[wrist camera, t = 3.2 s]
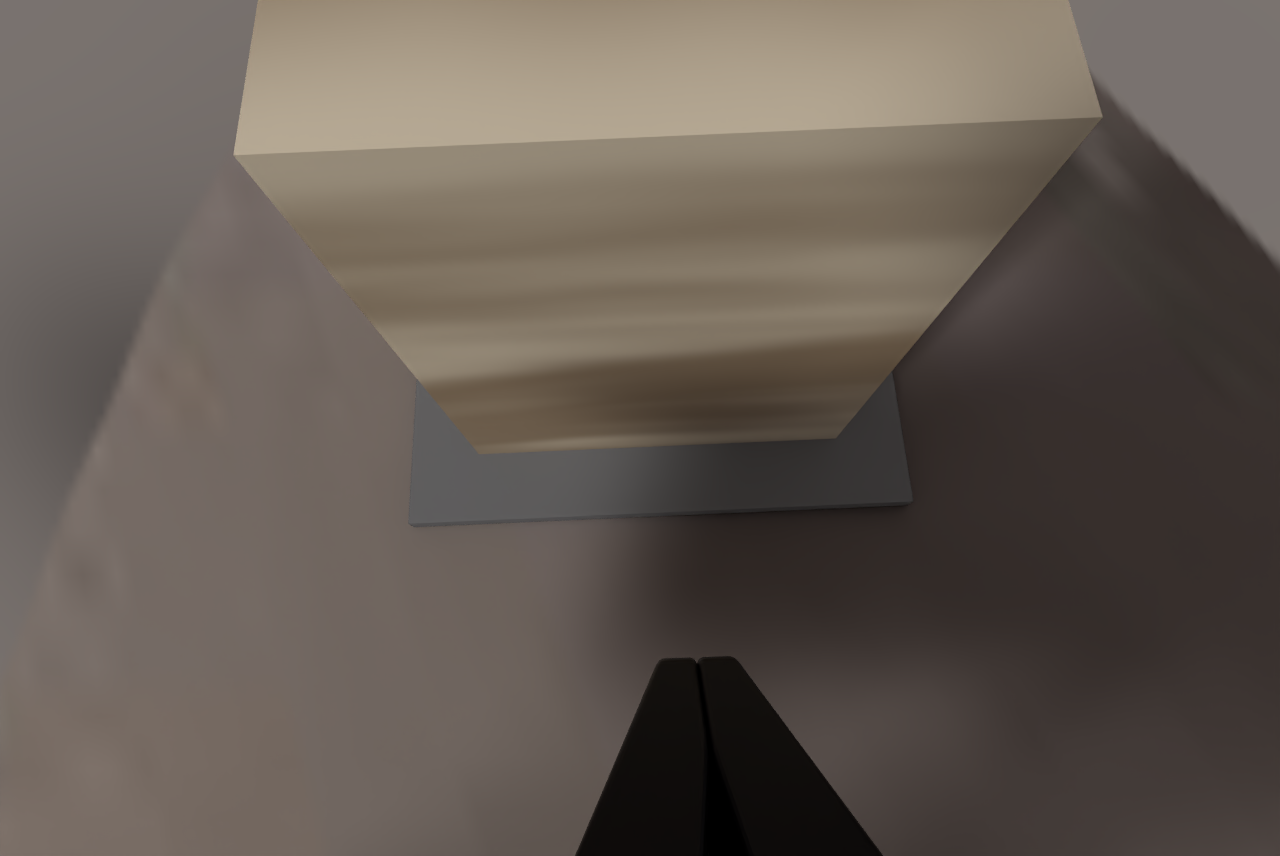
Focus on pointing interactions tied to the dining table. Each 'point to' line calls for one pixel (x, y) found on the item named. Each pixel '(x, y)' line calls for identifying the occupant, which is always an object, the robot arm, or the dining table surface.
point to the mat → (656, 474)
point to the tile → (657, 194)
